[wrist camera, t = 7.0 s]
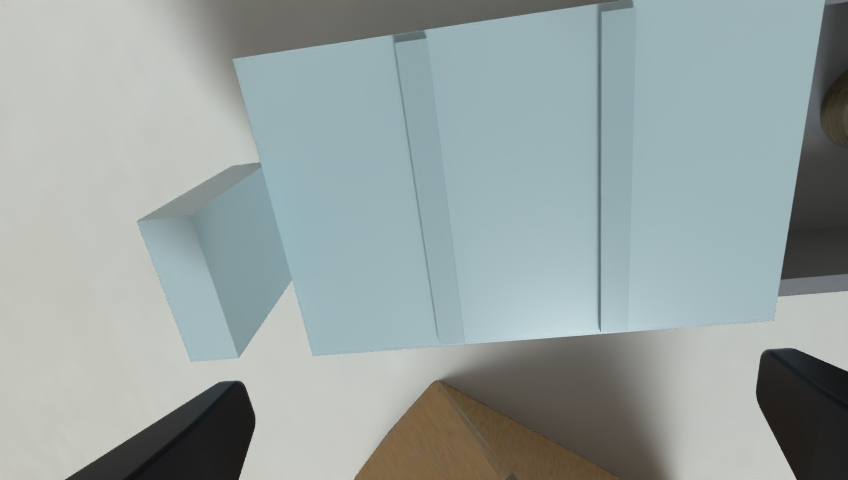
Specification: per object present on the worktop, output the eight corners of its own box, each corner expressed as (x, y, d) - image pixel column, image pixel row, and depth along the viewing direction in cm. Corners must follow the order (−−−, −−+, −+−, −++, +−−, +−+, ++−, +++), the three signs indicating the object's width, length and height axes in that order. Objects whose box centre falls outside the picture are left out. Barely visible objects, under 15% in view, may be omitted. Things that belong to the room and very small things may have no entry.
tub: (1025, -51, 15) (1215, -80, 11) (945, 224, 18) (1069, 272, 14) (555, 19, 16) (584, 14, 13) (563, 260, 20) (587, 312, 16)
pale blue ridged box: (810, -29, 12) (1016, -65, 7) (760, 308, 15) (880, 417, 11) (202, 63, 13) (80, 77, 9) (285, 346, 17) (226, 452, 13)
